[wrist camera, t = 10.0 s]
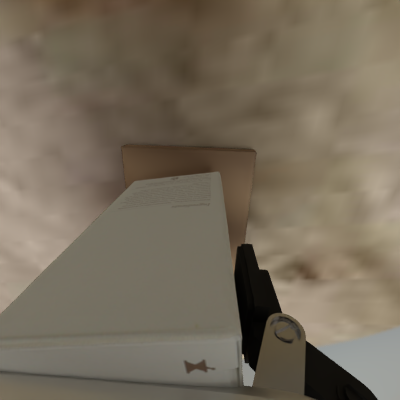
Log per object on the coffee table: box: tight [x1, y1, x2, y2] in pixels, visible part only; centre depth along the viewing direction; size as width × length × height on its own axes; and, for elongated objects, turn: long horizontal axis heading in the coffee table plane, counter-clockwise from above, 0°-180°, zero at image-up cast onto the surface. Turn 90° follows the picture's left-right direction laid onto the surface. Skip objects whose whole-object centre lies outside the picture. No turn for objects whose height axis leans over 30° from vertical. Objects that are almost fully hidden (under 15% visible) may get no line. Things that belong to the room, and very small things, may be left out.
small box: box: [0, 172, 244, 387], centre depth 10 cm, size 8×6×10 cm
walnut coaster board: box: [121, 145, 256, 273], centre depth 17 cm, size 11×9×1 cm
